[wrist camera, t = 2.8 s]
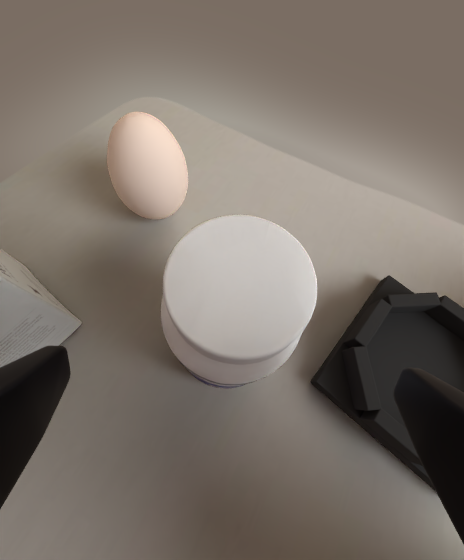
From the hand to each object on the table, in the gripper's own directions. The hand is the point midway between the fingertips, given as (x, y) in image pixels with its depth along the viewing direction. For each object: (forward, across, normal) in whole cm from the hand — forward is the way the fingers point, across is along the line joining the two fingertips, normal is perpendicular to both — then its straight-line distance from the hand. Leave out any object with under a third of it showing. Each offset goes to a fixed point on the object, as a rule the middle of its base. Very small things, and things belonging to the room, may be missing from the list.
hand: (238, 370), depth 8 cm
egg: (+15, +5, -1) cm, 16 cm away
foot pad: (+8, -12, +6) cm, 15 cm away
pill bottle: (+9, 0, +5) cm, 10 cm away
